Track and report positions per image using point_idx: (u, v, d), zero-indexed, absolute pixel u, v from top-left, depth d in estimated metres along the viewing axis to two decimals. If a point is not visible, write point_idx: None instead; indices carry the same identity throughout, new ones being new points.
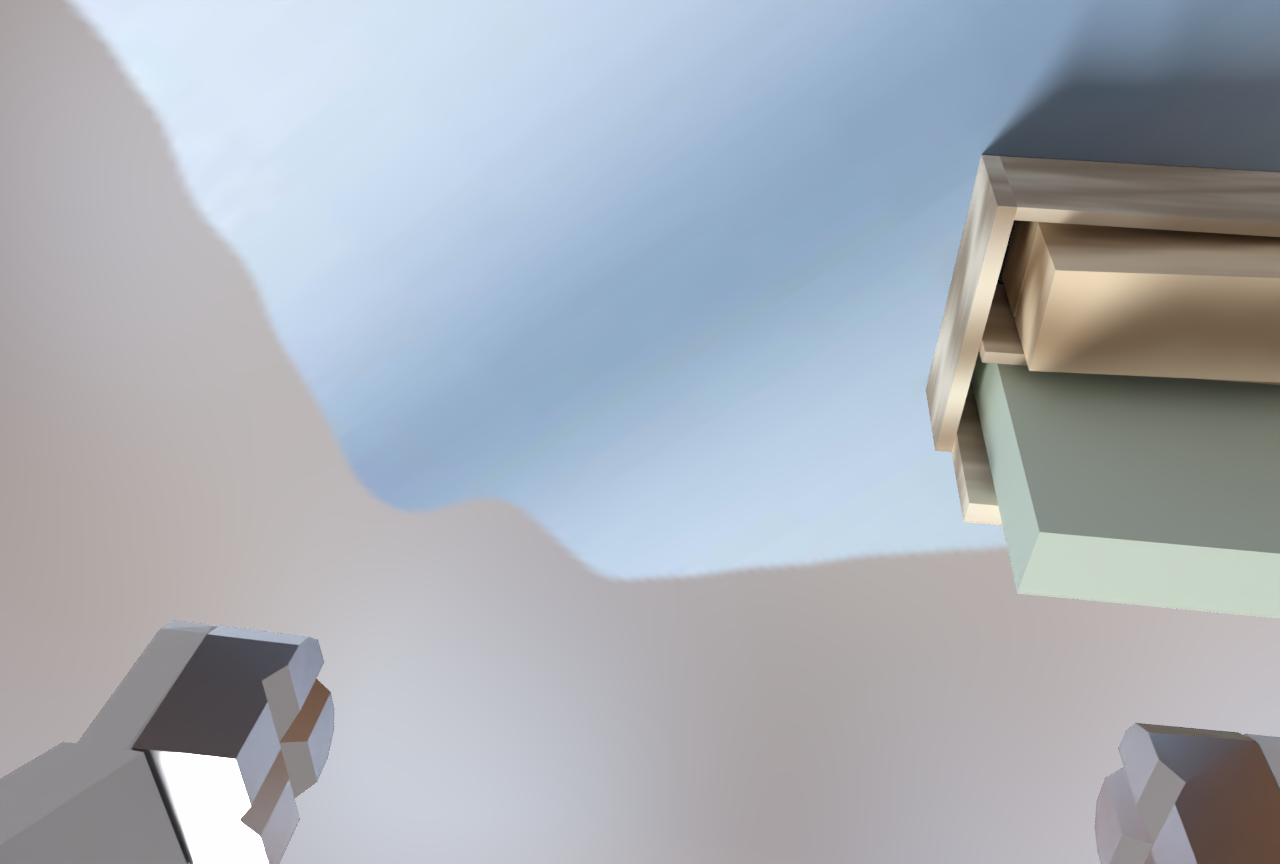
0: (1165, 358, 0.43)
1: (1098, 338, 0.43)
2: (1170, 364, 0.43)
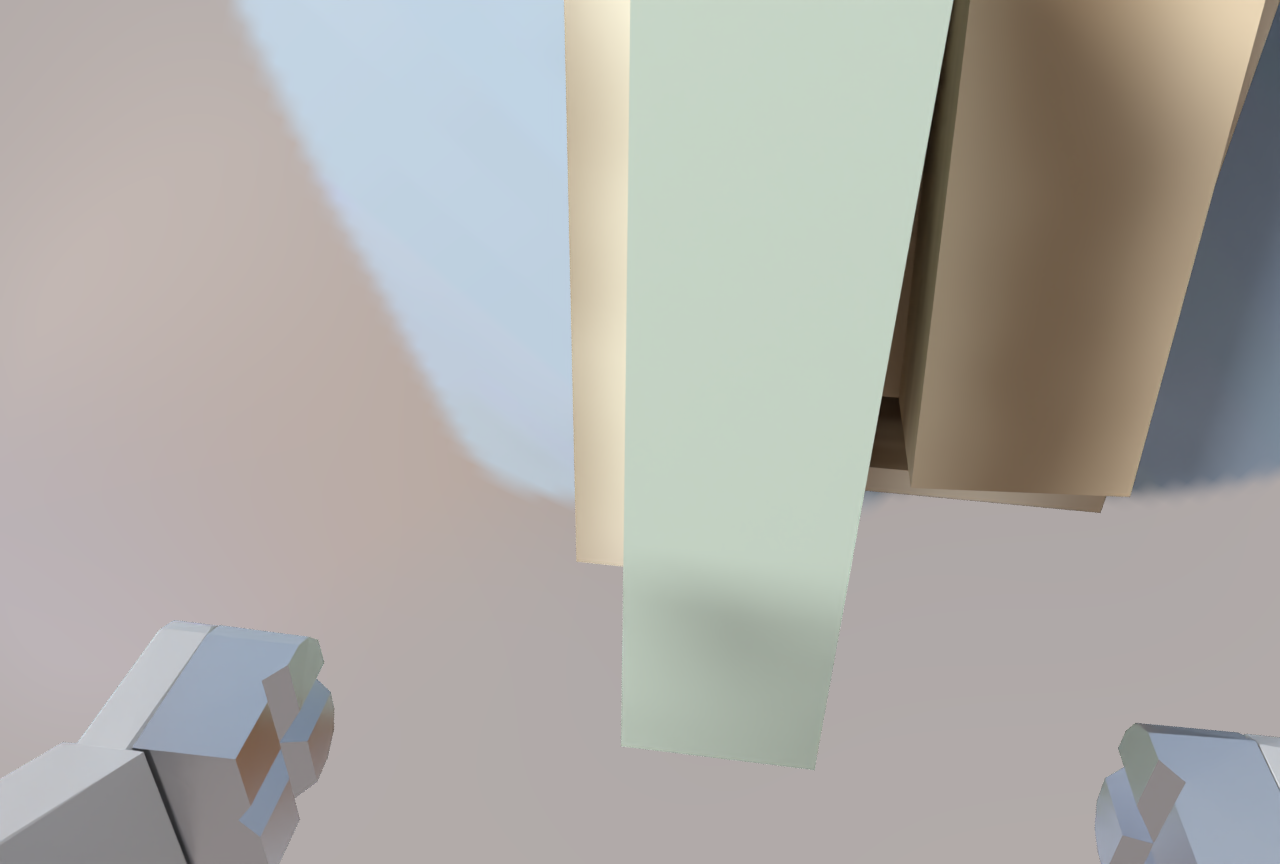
0: (998, 181, 0.20)
1: (1072, 26, 0.18)
2: (981, 195, 0.20)
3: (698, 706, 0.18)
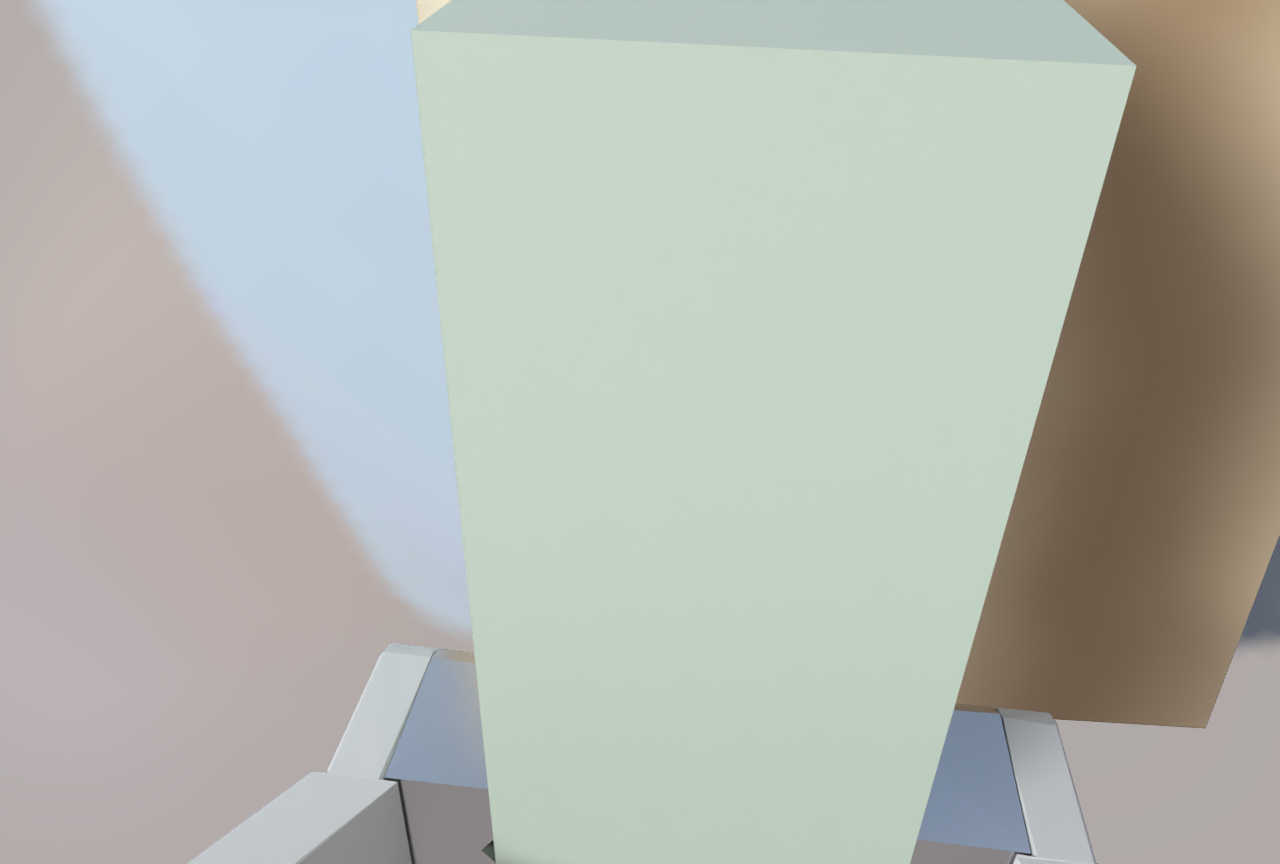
0: None
1: (1156, 162, 0.13)
2: None
3: None
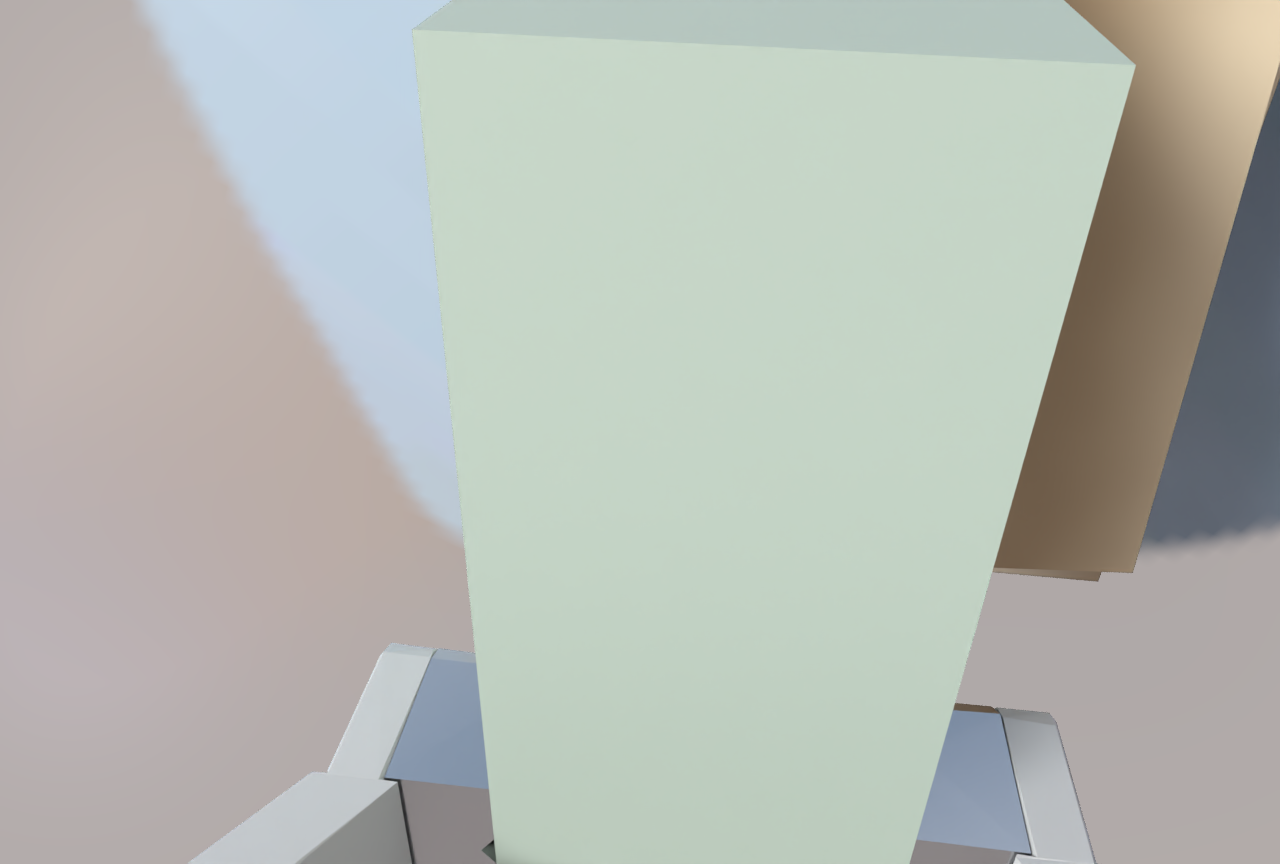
0: None
1: None
2: None
3: None
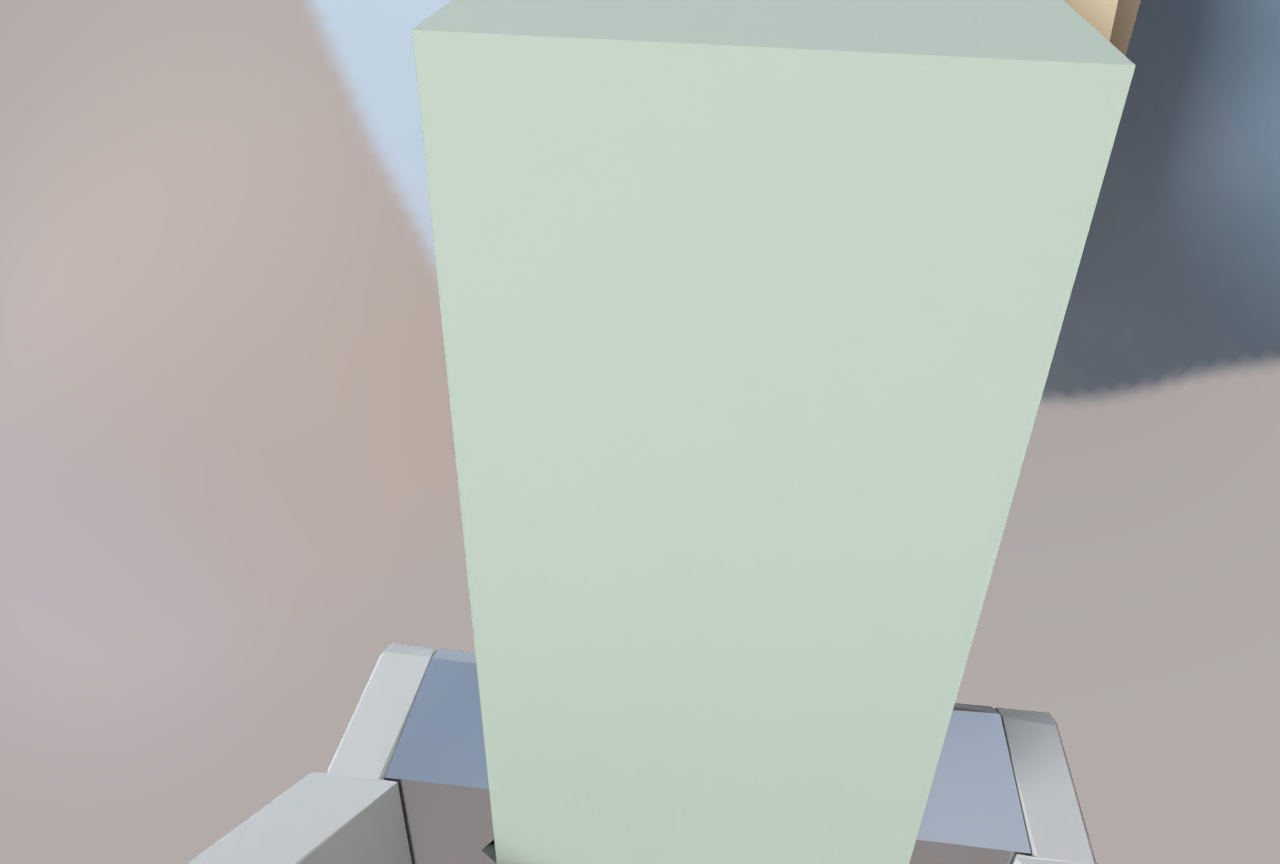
0: None
1: None
2: None
3: None
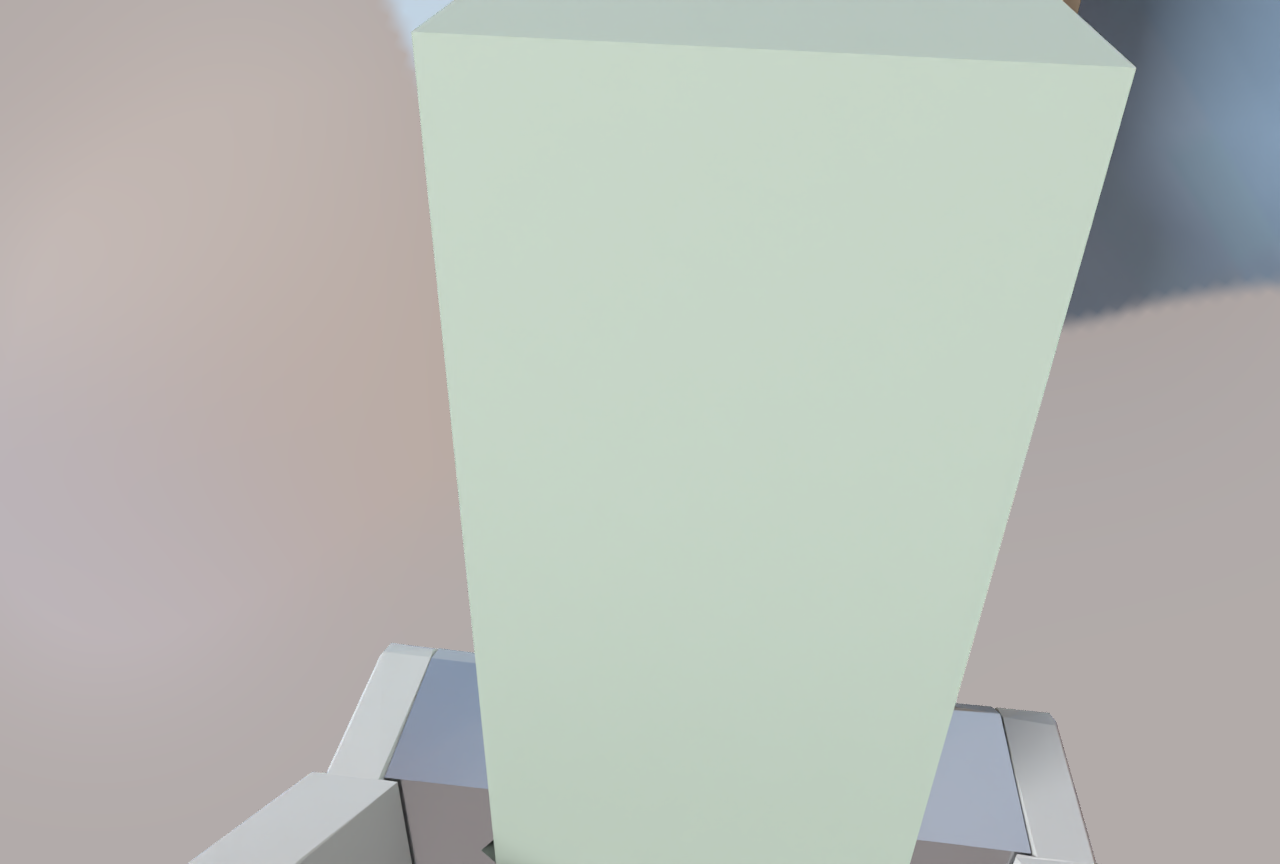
0: None
1: None
2: None
3: None
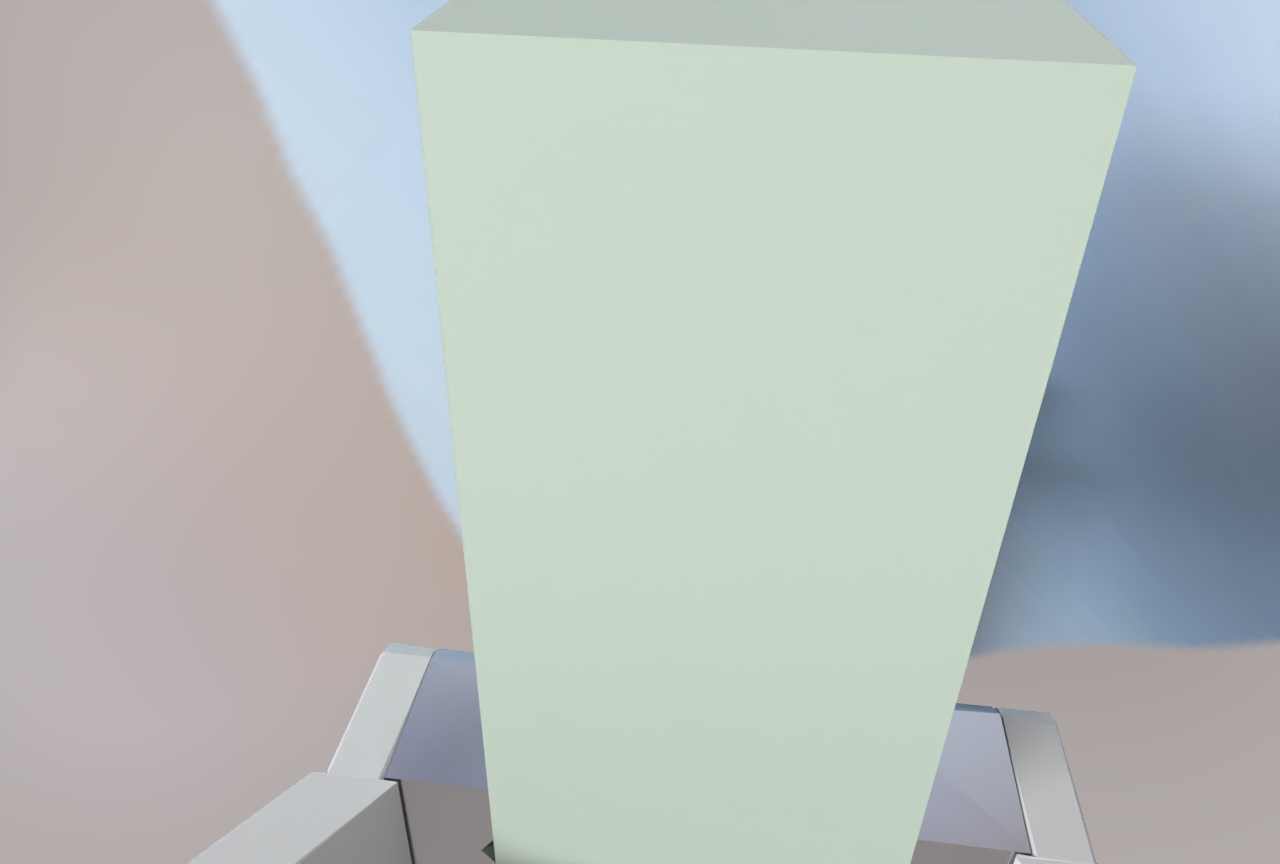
0: None
1: None
2: None
3: None
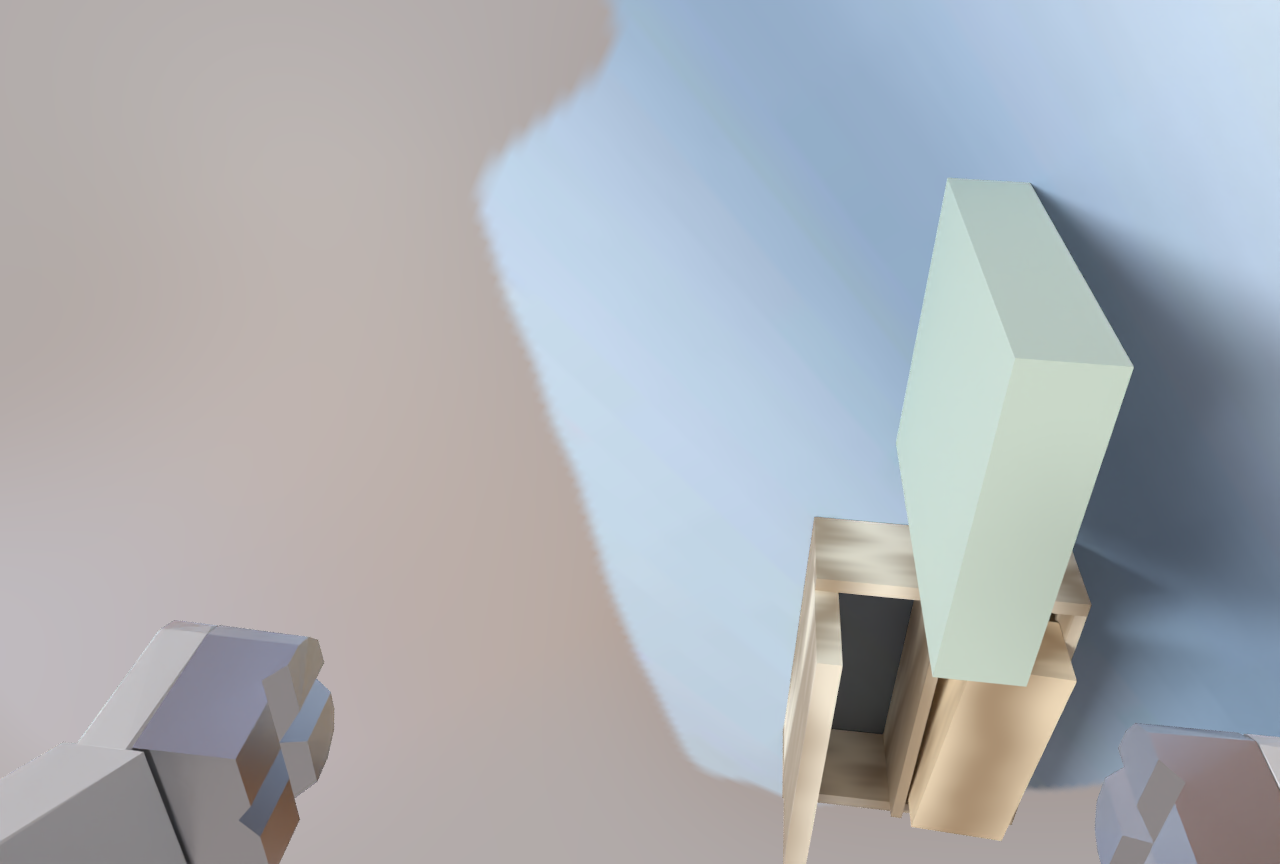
0: (964, 740, 0.52)
1: (997, 705, 0.51)
2: (957, 743, 0.53)
3: (975, 656, 0.38)
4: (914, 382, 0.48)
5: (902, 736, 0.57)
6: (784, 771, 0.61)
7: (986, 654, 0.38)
